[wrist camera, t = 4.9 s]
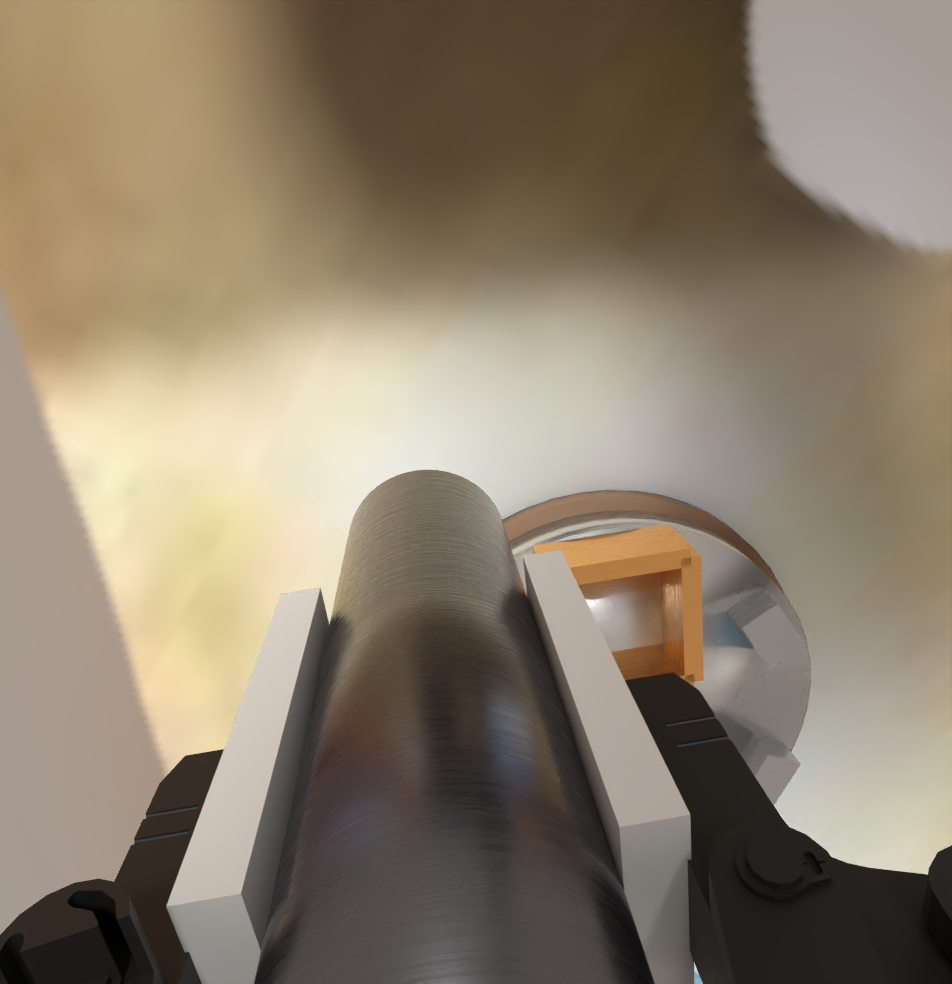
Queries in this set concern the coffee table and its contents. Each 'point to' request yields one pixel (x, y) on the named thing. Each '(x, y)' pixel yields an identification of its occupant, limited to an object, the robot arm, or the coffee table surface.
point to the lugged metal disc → (692, 623)
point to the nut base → (626, 502)
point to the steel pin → (442, 775)
